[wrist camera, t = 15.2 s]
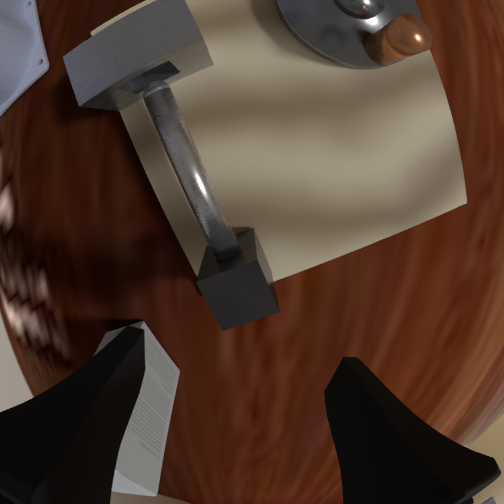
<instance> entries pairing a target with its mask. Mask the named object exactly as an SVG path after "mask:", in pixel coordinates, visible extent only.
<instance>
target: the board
mask: <svg viewBox="0 0 504 504" xmlns="http://www.w3.org/2000/svg"><path fill="white" fill-rule="evenodd" d="M154 1H156V0H146V1H144V2H142V3H140V4H138V5H136V6H134V7H132V8H130V9H128V10H126V11H125V12H123V13H121V14H119V15H118V16H116V17H114V18H112V19H111V20H109V21H107V22H106V23H104V24H103V25H101V26H99V27H98V28H96V29H95V30H93V31H92V32H91V35H92V36H93V35H95V34H96V33H98V32H99V31H101V30H103V29H104V28H106V27H107V26H109V25H111V24H112V23H114V22H116V21H118V20H119V19H121V18H123V17H125V16H126V15H128V14H130V13H132V12H134V11H136V10H138V9H139V8H141V7H143V6H145V5H147V4H149V3H152V2H154ZM185 1H186V3H187V5H188V7H189V9H190V11H191V13H192V16H193V18H194V20H195V22H196V24H197V26H198V28H199V30H200V32H201V34H202V37H203V39H204V41H205V44H206V46H207V48H208V51H209V53H210V56H211V58H212V61H213V63H214V65H213V66H210V67H208V68H205V69H203V70H200V71H198V72H196V73H193V74H191V75H189V76H187V77H184V78H182V79H180V80H178V81H176V82H174V83H172V84H170V85H169V86H170V87H171V89H172V92H173V94H174V96H175V99H176V101H177V103H178V106H179V108H180V110H181V113H182V115H183V117H184V120H185V122H186V124H187V127H188V129H189V131H190V133H191V136H192V138H193V140H194V143H195V145H196V147H197V150H198V152H199V154H200V157H201V159H202V161H203V163H204V166H205V168H206V170H207V173H208V175H209V177H210V179H211V182H212V184H213V186H214V189H215V191H216V193H217V195H218V198H219V200H220V202H221V204H222V207H223V209H224V211H225V214H226V216H227V218H228V220H229V223H230V225H231V227H232V229H233V232H234V234H235V235H236V234H238V233H241V232H243V231H246V230H248V229H251V228H254V230H255V232H256V235H257V237H258V239H259V242H260V244H261V247H262V249H263V252H264V254H265V256H266V259H267V261H268V264H269V266H270V268H271V271H272V276H273V281H276V280H279V279H281V278H284V277H287V276H290V275H292V274H295V273H298V272H300V271H303V270H306V269H308V268H311V267H313V266H316V265H319V264H321V263H324V262H326V261H329V260H332V259H334V258H337V257H339V256H342V255H344V254H347V253H349V252H352V251H354V250H357V249H360V248H362V247H364V246H367V245H369V244H372V243H374V242H377V241H379V240H382V239H384V238H387V237H389V236H391V235H394V234H396V233H399V232H401V231H403V230H406V229H408V228H411V227H413V226H415V225H418V224H420V223H422V222H425V221H427V220H429V219H432V218H434V217H436V216H439V215H441V214H443V213H445V212H448V211H450V210H452V209H454V208H457V207H459V206H461V205H463V204H466V203H467V199H466V190H465V182H464V175H463V168H462V162H461V156H460V151H459V146H458V141H457V136H456V132H455V128H454V123H453V119H452V116H451V112H450V108H449V105H448V101H447V98H446V94H445V91H444V88H443V85H442V82H441V79H440V76H439V73H438V70H437V68H436V65H435V62H434V60H433V57H432V54H431V52H430V50H428V51H425V52H422V53H419V54H416V55H413V56H411V57H408V58H405V59H404V60H402V61H400V62H397V63H395V64H392V65H389V66H387V67H383V68H379V69H371V70H366V69H355V68H349V67H345V66H341V65H339V64H336V63H333V62H331V61H328V60H326V59H324V58H322V57H320V56H319V55H317V54H315V53H313V52H312V51H311V50H309V49H308V48H306V47H305V46H304V45H303V44H301V43H300V42H299V41H298V40H297V39H296V38H295V37H294V36H293V35H292V34H291V33H290V32H289V30H288V29H287V28H286V26H285V25H284V23H283V22H282V20H281V18H280V16H279V14H278V12H277V9H276V5H275V0H185ZM120 114H121V116H122V118H123V121H124V123H125V126H126V128H127V130H128V133H129V135H130V138H131V140H132V142H133V145H134V147H135V149H136V152H137V154H138V156H139V158H140V161H141V163H142V165H143V167H144V170H145V172H146V174H147V176H148V178H149V181H150V183H151V185H152V187H153V189H154V191H155V193H156V196H157V198H158V200H159V202H160V204H161V206H162V208H163V210H164V212H165V214H166V216H167V219H168V221H169V223H170V225H171V227H172V229H173V231H174V233H175V235H176V237H177V239H178V241H179V243H180V245H181V247H182V249H183V251H184V252H185V254H186V256H187V258H188V260H189V262H190V264H191V266H192V268H193V270H194V272H195V274H196V275H197V276H198V273H199V269H200V266H201V263H202V259H203V256H204V253H205V249H206V246H208V245H209V244H208V242H207V240H206V238H205V236H204V234H203V232H202V230H201V228H200V226H199V224H198V221H197V219H196V217H195V215H194V213H193V211H192V209H191V206H190V204H189V202H188V200H187V198H186V196H185V193H184V191H183V189H182V187H181V185H180V182H179V180H178V178H177V176H176V174H175V171H174V169H173V167H172V165H171V162H170V160H169V158H168V156H167V153H166V151H165V149H164V147H163V144H162V142H161V140H160V137H159V135H158V133H157V131H156V128H155V126H154V124H153V121H152V119H151V116H150V114H149V112H148V109H147V107H146V105H145V102H144V99H143V98H142V99H141V100H139V101H137V102H135V103H133V104H132V105H130V106H128V107H126V108H125V109H123V110H121V111H120Z"/></svg>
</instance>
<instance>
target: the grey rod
mask: <svg viewBox="0 0 504 504" xmlns="http://www.w3.org/2000/svg"><path fill="white" fill-rule="evenodd" d="M143 99H144V102H145V105H146V107H147V109H148V112H149V114H150V116H151V119H152V121H153V124H154V126H155V128H156V131H157V133H158V135H159V137H160V140H161V142H162V144H163V147H164V149H165V151H166V153H167V156H168V158H169V160H170V162H171V165H172V167H173V169H174V171H175V174H176V176H177V178H178V180H179V182H180V185H181V187H182V189H183V191H184V193H185V196H186V198H187V200H188V202H189V204H190V206H191V209H192V211H193V213H194V215H195V217H196V219H197V221H198V224H199V226H200V228H201V230H202V232H203V234H204V236H205V238H206V240H207V242H208V244H209V245H208V246H206V249H205V253H204V256H203V259H202V263H201V266H200V269H199V273H198V276H197V280H196V284H197V286H198V287H199V289H200V291H201V293H202V295H203V296H204V298H205V300H206V302H207V304H208V305H209V307H210V309H211V311H212V313H213V314H214V316H215V318H216V320H217V321H218V323H219V325H220V327H221V328H222V330H223V331H224V330H227V329H230V328H234V327H237V326H240V325H243V324H246V323H249V322H252V321H255V320H258V319H261V318H264V317H267V316H270V315H272V314H275V313H278V312H280V310H279V305H278V300H277V295H276V290H275V286H274V281H273V276H272V271H271V268H270V266H269V264H268V261H267V259H266V256H265V254H264V252H263V249H262V247H261V244H260V242H259V239H258V237H257V235H256V232H255V230H254V228H251V229H248V230H246V231H243V232H241V233H238V234H236V235H235V234H234V232H233V229H232V227H231V225H230V223H229V220H228V218H227V216H226V214H225V211H224V209H223V207H222V204H221V202H220V200H219V198H218V195H217V193H216V191H215V189H214V186H213V184H212V182H211V179H210V177H209V175H208V173H207V170H206V168H205V166H204V163H203V161H202V159H201V157H200V154H199V152H198V150H197V147H196V145H195V143H194V140H193V138H192V136H191V133H190V131H189V129H188V127H187V124H186V122H185V120H184V117H183V115H182V113H181V110H180V108H179V106H178V103H177V101H176V99H175V96H174V94H173V92H172V89H171V87H170V86H169V85H168V84H167V83H166V82H164V81H154V82H151V83H150V84H148V85H147V86H146V88H145V89H144V92H143Z"/></svg>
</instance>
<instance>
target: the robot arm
mask: <svg viewBox="0 0 504 504" xmlns="http://www.w3.org/2000/svg"><path fill="white" fill-rule="evenodd" d="M42 60H43V62H42V64H41V61H42ZM48 68H49V62H48V58H47V54H46V50H45V46H44V42H43V37H42V33H41V28H40V23H39V18H38V12H37V7H36V0H0V116H1V115H2V114H3V113H4V112H5V111H6V110H7V109H8V108H9V107H10V106H11V105H12V104H13V103H14V101H15V100H16V99H17V98H18V97H19V96H20V95H22V94H23V93H24V92H25V91H26V90H27V89H28V88H29V87H30V86H31V85H32V84H33V83H34V82H35V81H36V80H38V79H39V78H40V77H41V76H42V75H43V74H44V73H46V71H47V70H48ZM145 370H146V367H145V329H141V328H137V327H132V326H127V327H125V328H124V329H123V330H122V331H121V332H120V333H119V334H118V335H117V336H116V337H114V338H113V339H112V340H111V341H110V342H109V343H108V344H107V345H106V346H105V347H104V348H102V349H101V350H100V351H99V352H98V353H97V354H95V355H94V356H93V357H92V358H91V359H90V360H88V361H87V362H86V363H85V364H83V365H82V366H81V367H80V368H78V369H77V370H76V371H74V372H73V373H72V374H71V375H69V376H68V377H66V378H65V379H63V380H62V381H61V382H59V383H58V384H56V385H54V386H53V387H51V388H50V389H48V390H46V391H45V392H43V393H41V394H39V395H37V396H36V397H34V398H32V399H30V400H28V401H26V402H24V403H22V404H19V405H17V406H15V407H12V408H10V409H7V410H5V411H2V412H0V504H110V497H111V491H112V484H113V478H114V473H115V468H116V463H117V458H118V453H119V449H120V446H121V442H122V439H123V437H124V434H125V431H126V428H127V426H128V423H129V420H130V417H131V415H132V412H133V409H134V407H135V404H136V401H137V399H138V396H139V393H140V390H141V386H142V382H143V378H144V374H145ZM324 395H325V404H326V412H327V417H328V421H329V425H330V429H331V433H332V437H333V440H334V444H335V448H336V452H337V456H338V460H339V464H340V470H341V478H342V487H343V503H344V504H473V502H474V501H473V498H472V497H473V496H474V495H476V494H477V493H478V492H480V491H481V490H483V489H484V488H485V487H487V486H488V485H489V484H491V483H492V482H493V481H495V480H496V479H497V478H498V477H499V476H500V475H501V471H500V469H499V467H498V465H497V463H496V461H495V459H494V458H492V457H489V456H486V455H484V454H481V453H478V452H475V451H473V450H470V449H468V448H466V447H464V446H462V445H460V444H458V443H456V442H454V441H452V440H451V439H449V438H447V437H446V436H444V435H442V434H441V433H439V432H438V431H436V430H435V429H433V428H432V427H431V426H429V425H428V424H427V423H425V422H424V421H423V420H421V419H420V418H419V417H418V416H416V415H415V414H414V413H413V412H412V411H411V410H410V409H408V408H407V407H406V406H405V405H404V404H403V403H402V402H401V401H400V400H399V399H398V398H397V397H396V396H395V395H394V394H393V393H392V392H391V391H390V390H389V389H388V388H387V387H386V386H385V385H384V384H383V383H382V382H381V381H380V380H379V379H378V378H377V377H376V376H375V375H374V374H373V373H372V372H371V370H370V369H369V368H368V367H367V366H366V365H365V364H364V363H363V362H362V361H361V360H359V359H358V358H357V357H343V358H342V360H341V362H340V364H339V366H338V368H337V370H336V372H335V373H334V375H333V377H332V379H331V381H330V382H329V384H328V386H327V388H326V390H325V391H324ZM482 504H496V503H495V500H494V498H493V497H490V498H489V499H488V500H486V501H485V502H483V503H482Z"/></svg>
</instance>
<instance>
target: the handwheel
mask: <svg viewBox="0 0 504 504" xmlns="http://www.w3.org/2000/svg"><path fill="white" fill-rule="evenodd" d="M275 5H276V9H277V12H278V14H279V16H280V18H281V20H282V22H283V23H284V25H285V26H286V28H287V29H288V30H289V32H290V33H291V34H292V35H293V36H294V37H295V38H296V39H297V40H298V41H299V42H300V43H301V44H303V45H304V46H305V47H306V48H308V49H309V50H311V51H312V52H313V53H315V54H317V55H319V56H320V57H322V58H324V59H326V60H328V61H331V62H333V63H336V64H339V65H341V66H345V67H349V68H355V69H366V70H371V69H379V68H383V67H387V66H389V65H392V64H395V63H397V62H400V61H402V60H404V59H405V58H408V57H411V56H413V55H416V54H419V53H422V52H425V51H428V50H429V49H430V48H431V47H432V43H433V38H432V34H431V32H430V30H429V28H428V27H427V25H426V24H425V23H424V22H423V21H422V20H421V15H420V11H419V9H418V6H417V4H416V1H415V0H275Z"/></svg>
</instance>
